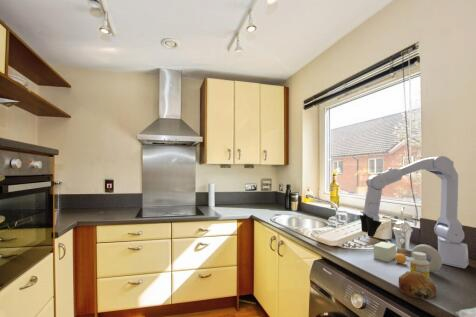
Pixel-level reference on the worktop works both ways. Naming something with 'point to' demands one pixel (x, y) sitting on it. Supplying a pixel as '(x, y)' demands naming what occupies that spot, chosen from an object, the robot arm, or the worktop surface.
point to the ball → (400, 258)
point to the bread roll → (417, 285)
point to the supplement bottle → (419, 263)
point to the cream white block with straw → (402, 233)
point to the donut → (434, 255)
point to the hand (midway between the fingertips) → (367, 234)
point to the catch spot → (408, 258)
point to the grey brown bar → (405, 252)
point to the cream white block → (384, 251)
